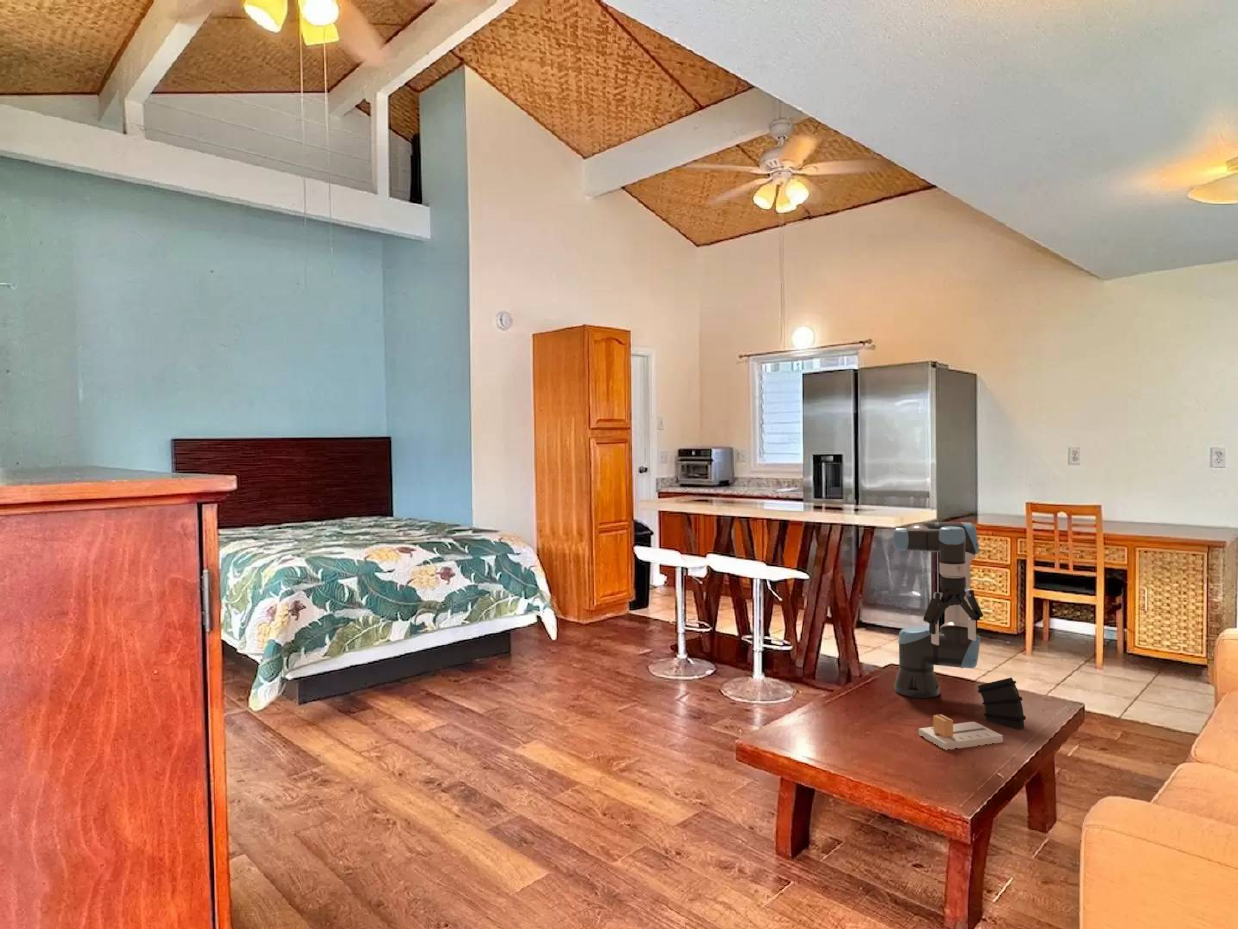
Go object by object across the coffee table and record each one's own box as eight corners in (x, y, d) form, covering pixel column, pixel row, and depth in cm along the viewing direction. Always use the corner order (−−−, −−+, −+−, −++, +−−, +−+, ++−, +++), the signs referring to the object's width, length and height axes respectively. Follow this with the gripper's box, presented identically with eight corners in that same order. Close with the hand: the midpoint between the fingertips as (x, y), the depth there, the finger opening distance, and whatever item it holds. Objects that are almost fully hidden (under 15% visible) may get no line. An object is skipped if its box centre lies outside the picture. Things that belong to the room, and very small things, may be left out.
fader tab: (933, 731, 221) (932, 714, 221) (941, 730, 221) (941, 713, 221) (944, 737, 216) (944, 720, 215) (953, 736, 216) (953, 719, 216)
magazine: (1030, 728, 223) (1008, 679, 228) (991, 735, 232) (970, 688, 237) (1036, 725, 225) (1013, 676, 230) (997, 732, 235) (976, 685, 240)
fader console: (918, 735, 223) (918, 728, 223) (974, 727, 228) (974, 721, 228) (945, 750, 212) (945, 743, 212) (1002, 742, 216) (1002, 735, 216)
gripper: (926, 581, 224) (927, 649, 225) (994, 574, 229) (995, 641, 230) (910, 576, 231) (912, 642, 232) (977, 570, 237) (978, 634, 238)
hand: (953, 641), depth 231 cm, fingers open, 13 cm apart
